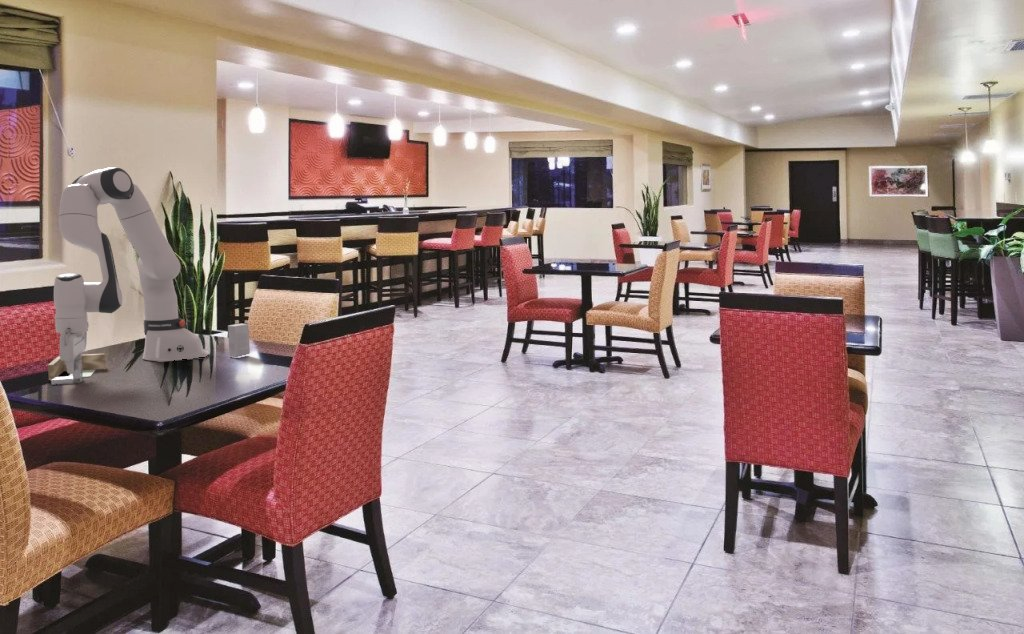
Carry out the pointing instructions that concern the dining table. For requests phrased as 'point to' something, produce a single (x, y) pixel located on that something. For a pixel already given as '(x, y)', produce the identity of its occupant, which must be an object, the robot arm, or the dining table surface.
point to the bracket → (75, 378)
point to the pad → (86, 373)
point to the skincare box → (238, 340)
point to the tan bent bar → (87, 364)
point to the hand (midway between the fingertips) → (74, 370)
